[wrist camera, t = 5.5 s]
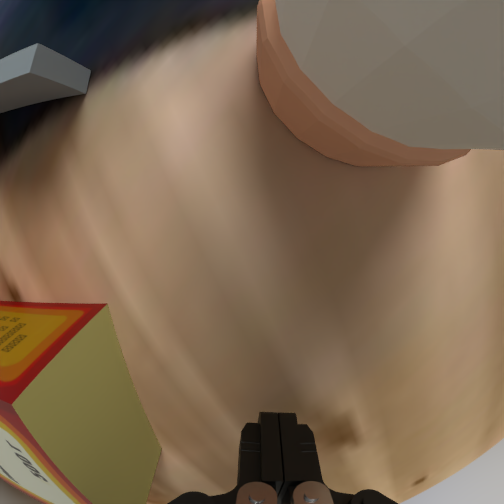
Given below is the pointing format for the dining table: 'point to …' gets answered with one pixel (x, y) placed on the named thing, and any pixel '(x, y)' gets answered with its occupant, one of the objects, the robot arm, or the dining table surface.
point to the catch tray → (39, 77)
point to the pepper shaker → (385, 77)
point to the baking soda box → (70, 408)
